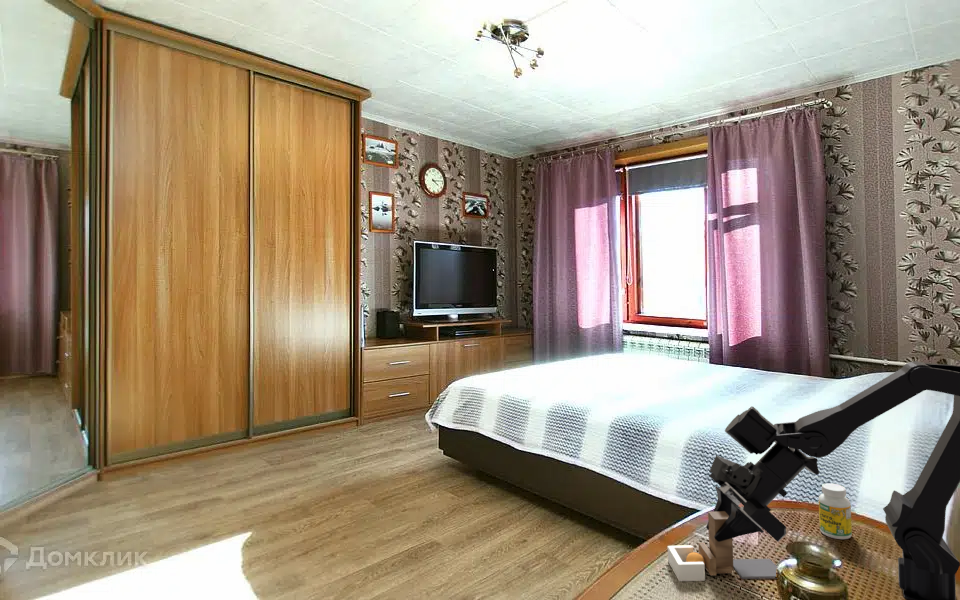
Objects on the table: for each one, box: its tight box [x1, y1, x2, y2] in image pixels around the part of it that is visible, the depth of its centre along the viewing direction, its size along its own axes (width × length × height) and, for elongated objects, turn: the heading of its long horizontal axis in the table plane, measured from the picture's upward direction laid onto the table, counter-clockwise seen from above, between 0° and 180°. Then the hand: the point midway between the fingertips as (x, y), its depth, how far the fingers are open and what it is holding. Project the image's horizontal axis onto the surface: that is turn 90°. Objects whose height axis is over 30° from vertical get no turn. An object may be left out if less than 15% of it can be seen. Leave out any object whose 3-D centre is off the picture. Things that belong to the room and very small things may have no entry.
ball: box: [686, 551, 705, 565], centre depth 94 cm, size 3×3×3 cm
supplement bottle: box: [818, 482, 853, 540], centre depth 104 cm, size 5×5×10 cm
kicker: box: [698, 511, 735, 576], centre depth 93 cm, size 4×6×10 cm
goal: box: [667, 544, 706, 582], centre depth 94 cm, size 4×6×3 cm
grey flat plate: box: [733, 558, 778, 580], centre depth 93 cm, size 8×6×1 cm
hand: (712, 534), depth 93 cm, fingers open, 3 cm apart
